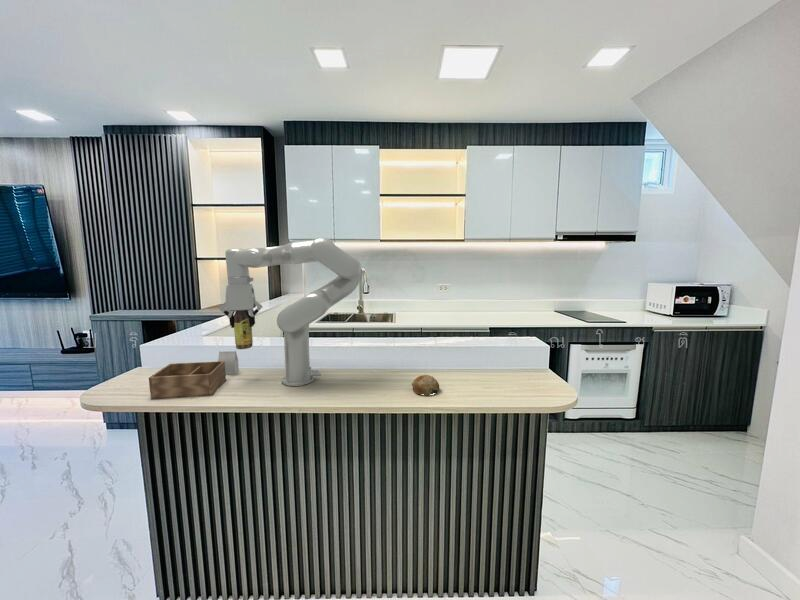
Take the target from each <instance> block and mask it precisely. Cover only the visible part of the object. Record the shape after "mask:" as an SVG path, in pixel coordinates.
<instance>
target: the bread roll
mask: <svg viewBox="0 0 800 600" xmlns="http://www.w3.org/2000/svg"><path fill="white" fill-rule="evenodd" d="M410 386H412V390H413V392H414V393H415V392H416V393H417V395H418V394H424V395H430V394H433V393H436V392H437V393H439V391H440V384H439V381H438V380H437V379H436V378H435V377H434V376H432V375H427V374H422V375H420V376H417V377H416V378H415V379H413V381H412V382H411V385H410ZM416 393H415V394H416ZM437 393H436V394H437Z"/></svg>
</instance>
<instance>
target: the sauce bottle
mask: <svg viewBox="0 0 800 600" xmlns="http://www.w3.org/2000/svg"><path fill="white" fill-rule="evenodd" d="M249 317H250V314H249V312H248V310H239V311H235V312H234V329H233V331H234V342H235V348H236V350H247V349H251V348H252V347H253V343H254V339H253V328H252V327H250V320H249Z"/></svg>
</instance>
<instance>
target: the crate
mask: <svg viewBox="0 0 800 600" xmlns="http://www.w3.org/2000/svg"><path fill="white" fill-rule="evenodd" d="M226 377H227V376H226V373H225V361H218V360H217V361H200V362H175V363H174V362H173V363H169V364H167V365H165V366H164V367H162V368H161V369H160V370H158V371H156V373H154V374H152V375H151V376H149V377H148V384H149V393H150V394H149V395H150V400H161V399H163V400H165V399H178V398H180V399H181V398H193V397H194V398H199V397H209V396H210V397H212V396H213V395H215V393H216V392H217V391H218V390H219V389H220V387H221V386H222V385H223V384H224V383H225V382H226V381H225V380H227V378H226ZM224 381H225V382H224ZM217 389H218V390H217Z"/></svg>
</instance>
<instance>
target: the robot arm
mask: <svg viewBox="0 0 800 600" xmlns="http://www.w3.org/2000/svg"><path fill="white" fill-rule="evenodd" d="M316 262H319V263H320V264H321V265H323V266H324V267H326V268H327V269H329V270H330V271H332V272H333V273H334V274H336V275H337V277H335V278H334V279H332V280H331V281H329V282H328V283H326V284H324V285H322V287H319V288H318V289H315V290H313V291H310V292H308V294H306V295H305V296H303V297H301V298H299V299H298V300H296V301H295V302H293V303H292V304H289V305H288V306H286V307H284V309H282V310H281V311H279V313H278V315H277V317H276V325H277V327H278V328H279V329H280V331H282V332H283V341H284V342H283V344H284V345H283V346H284V368H285V375H284V376H283V377H282V379H281V383H282V384H283V385H284V386H288V387H299V386H305V384H306V385H308V384H311V383H312V382H313V381H314V380H315V377H321V376H322V371H320V370H319V369H314V370H313V369H312V366H311V365H310V364H311V363H310V324H312V323H313V322H315V321H317V320H318V319H320V318H321V317H323V316H324V315H325V314H326V313H327V312H328V310H329V309H330V308H331V307H333V306H335V305H336V304H338V303H340V302H341V301H343V299H345V298H347V297H348V296H349V295H351V294H352V293H353V292H354V291H355V290H356V289H357V287H358V286H359V283H360V281H361V279H362V265H361V262H360V260H359V259H358V258H357V257H355V256H353V255H350V254H348V253H347V252H345V251H344V250H342V248H340V247H338V246H337V245H336V244H335V243H334V242H333V240H332V239H330V238H327V237H318V238H316V239H309V240H308V239H307V240H299V241H292V242H289V243H287V244H282V245H278V246H276V245H275V246H270V247H269V246H268V247H251V248H228V249H226V250H225V264H226V274H227V275H226V276H227V285H226V287H225V302H224V303H223V304H222V305H221V306H220V307H219V310H220V312H222V313H223V314H224V315H225V316H227V318H228V319H229V326H230V328H232V329H233V328H234V314H235V312H236V311H239V310H248V312H249V314H250V317H249V320H250V327H254V325H255V324H256V318H255V317H256V315H257V314H258V313H259V312H260V311H261V309H263V305H262V304H261V303H260V302H258V301H257V300H256V295H255V289H254V286H253V283H251V282H254V277H250V273H249V272H250V270H249V268H251V269H258V268H265V267H272V266H279V265H301V264H307V263H316ZM255 308H256V309H255Z"/></svg>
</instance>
